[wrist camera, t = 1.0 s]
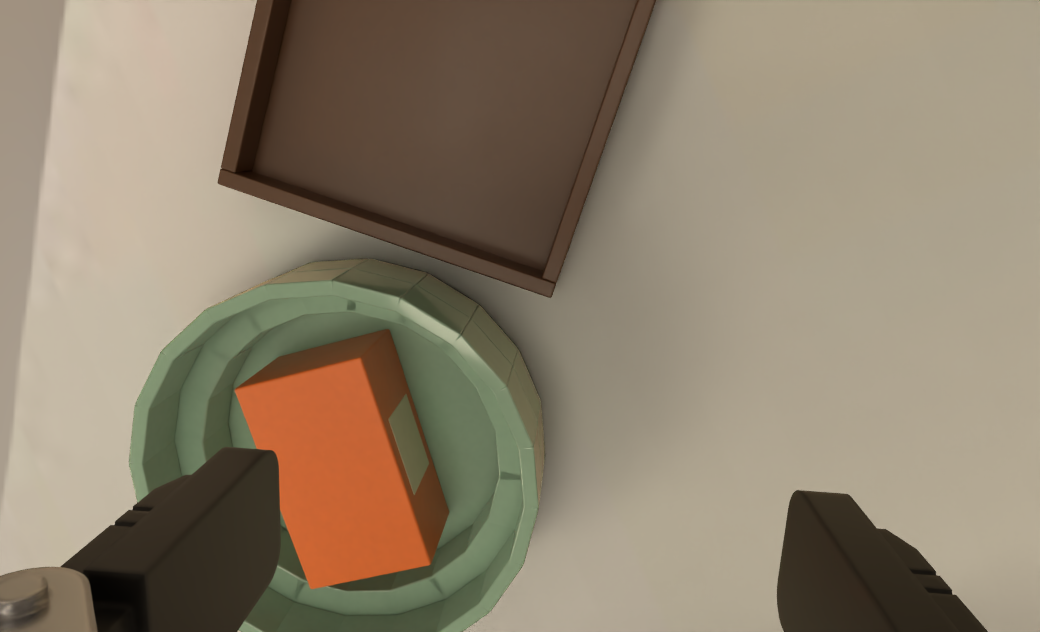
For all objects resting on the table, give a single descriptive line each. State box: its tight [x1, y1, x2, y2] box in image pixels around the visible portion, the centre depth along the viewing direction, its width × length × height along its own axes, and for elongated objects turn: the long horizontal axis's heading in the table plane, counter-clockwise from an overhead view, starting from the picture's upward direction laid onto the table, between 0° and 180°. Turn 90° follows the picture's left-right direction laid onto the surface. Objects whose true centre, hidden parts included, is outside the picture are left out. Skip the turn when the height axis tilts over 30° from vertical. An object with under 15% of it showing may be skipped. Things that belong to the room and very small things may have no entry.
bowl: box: [129, 258, 545, 632], centre depth 29 cm, size 15×15×5 cm
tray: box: [218, 0, 656, 298], centre depth 26 cm, size 16×13×2 cm
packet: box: [235, 329, 449, 589], centre depth 29 cm, size 8×5×4 cm, turn 16°
